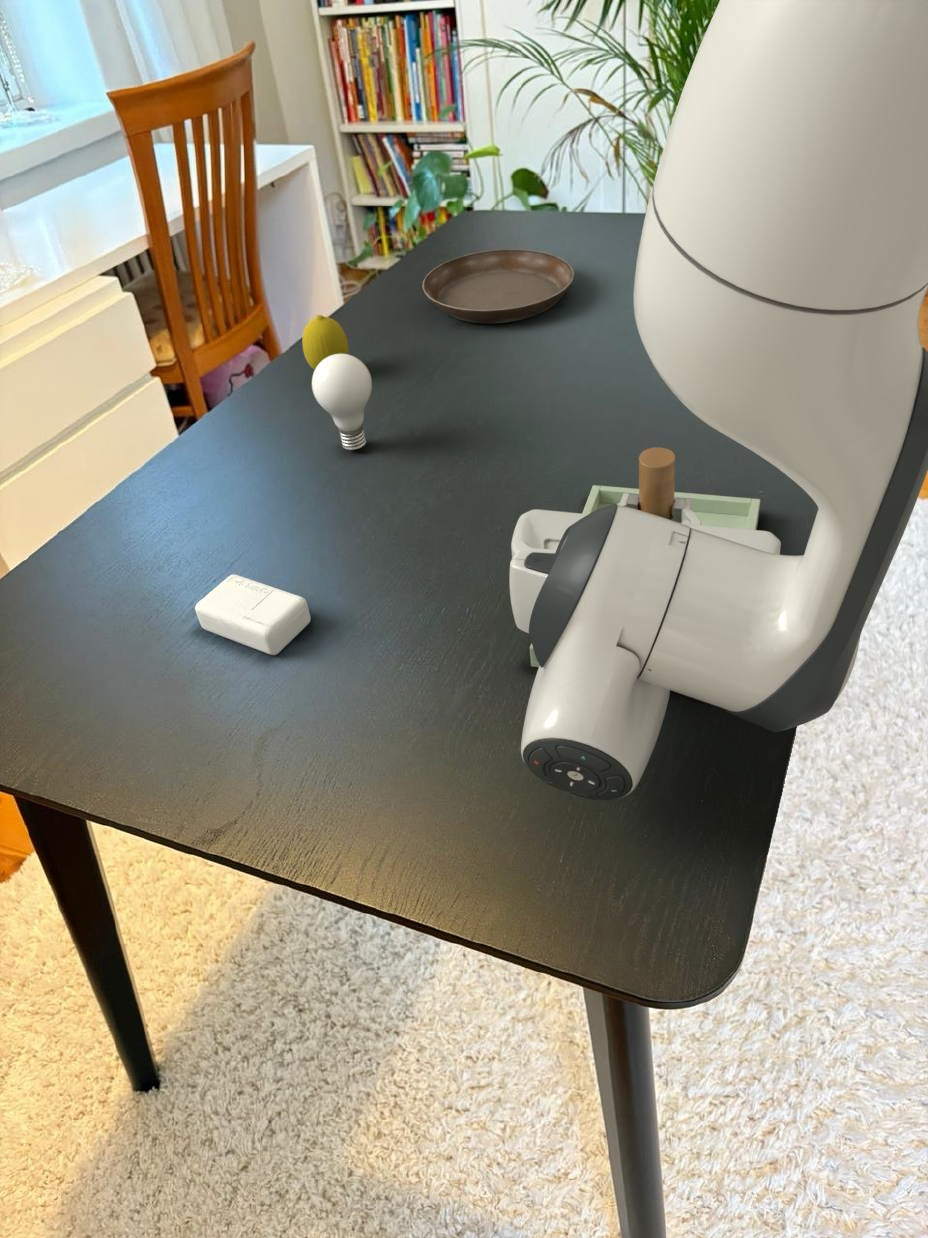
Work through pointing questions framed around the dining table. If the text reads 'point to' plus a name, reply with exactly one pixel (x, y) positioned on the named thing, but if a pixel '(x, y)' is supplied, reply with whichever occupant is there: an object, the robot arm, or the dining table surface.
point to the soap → (253, 614)
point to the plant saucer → (498, 285)
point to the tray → (704, 506)
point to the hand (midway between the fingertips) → (657, 502)
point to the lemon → (323, 340)
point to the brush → (657, 481)
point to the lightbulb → (344, 395)
